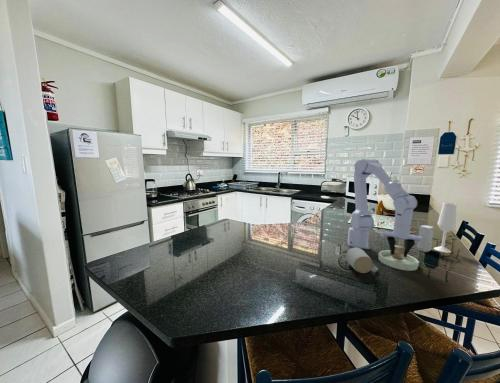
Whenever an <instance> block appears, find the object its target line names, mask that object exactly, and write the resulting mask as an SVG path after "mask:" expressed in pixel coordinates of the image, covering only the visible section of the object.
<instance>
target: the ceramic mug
mask: <svg viewBox="0 0 500 383" xmlns="http://www.w3.org/2000/svg"><path fill="white" fill-rule="evenodd" d="M345 258H346V261H347V263H348V264H349V266H351V268H353V269H354V271H356V272H357V273H360V274H367V273H369V272H370V271H371V272H373V273H377V272H378V270H379V268H378V267H377V266H376V265H374V263H373V261H372V258H370V256H369V255H368V254H367V253H366V251H365V250H363V248H359V247H351V248H350V249H349V250H347V252H346V255H345Z"/></svg>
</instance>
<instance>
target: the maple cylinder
mask: <svg viewBox="0 0 500 383" xmlns="http://www.w3.org/2000/svg"><path fill="white" fill-rule="evenodd" d="M404 252H405V248H404V246H401V245H396V244H395V247H394V255H392V258H394V259H396V260H403V259H404Z"/></svg>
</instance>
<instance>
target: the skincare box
mask: <svg viewBox="0 0 500 383" xmlns="http://www.w3.org/2000/svg"><path fill="white" fill-rule="evenodd" d="M434 229H435V227H434V226H431V225H426V224H424V225H420V226H419V228H418V236H421V237H422V238H423V240H422V242H419V241H417V245H416V249H417V250H418V251H421V252H424V253H428V252H430V251H432V246H433V238H434Z"/></svg>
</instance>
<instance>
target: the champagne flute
mask: <svg viewBox="0 0 500 383" xmlns="http://www.w3.org/2000/svg"><path fill="white" fill-rule="evenodd" d="M440 210H441V211H440V214H439V217H438V221H437V223H436V224H437V226H438V227H439V229H440V230H441V231H443V232H442V233H443V234H442V239H441V244H440V246H436V247H433V250H435V251H437V252H441V253H445V254H446V253H447V254H450V253H452V251H451V250H450V249H448V248H447V247H445V246H446V239H447V233H448V232H450V231H451V232H452V231H453V230H455V228H456V227H457V226H456V223H457V203H453V202H443V203H442V206H441V209H440Z"/></svg>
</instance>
